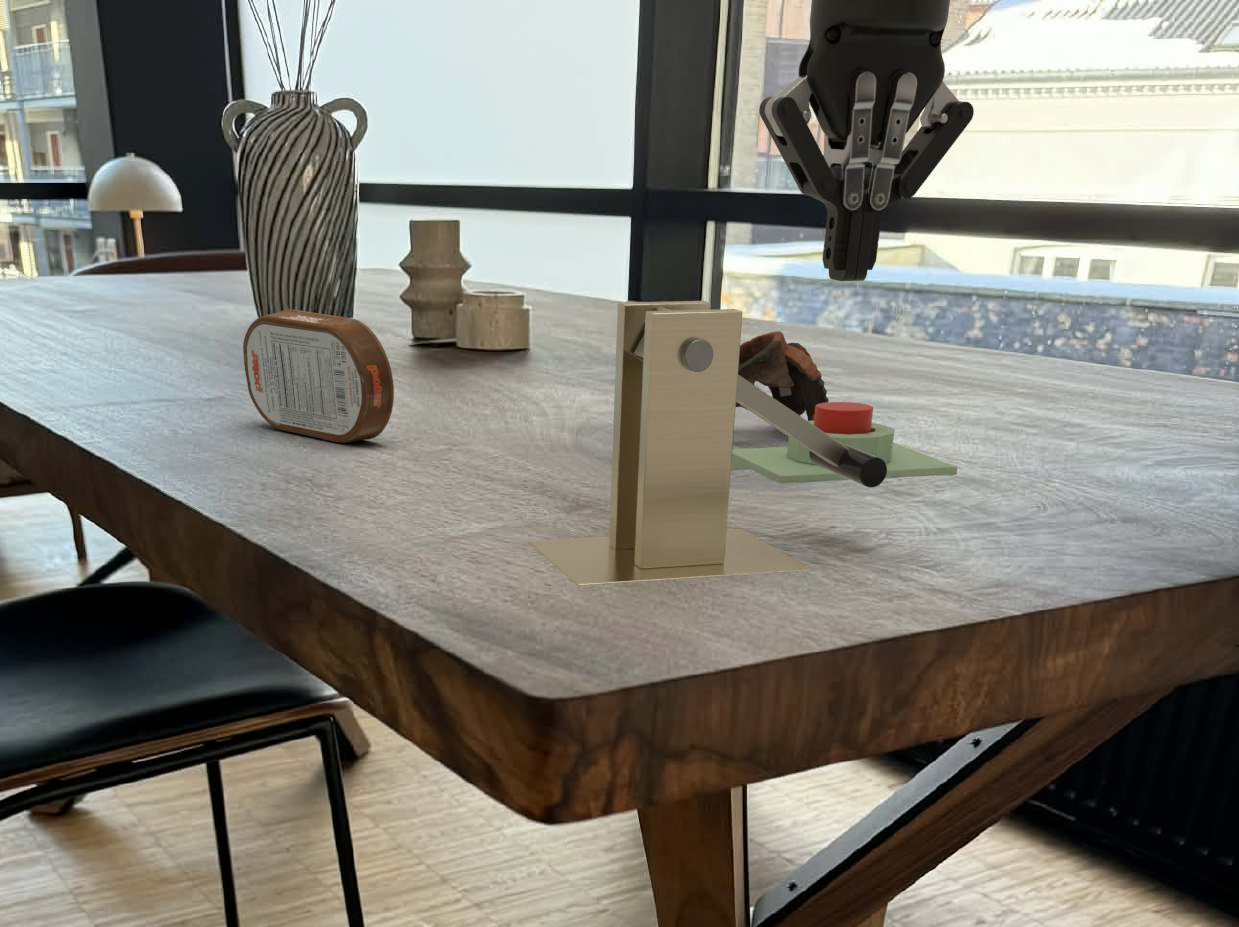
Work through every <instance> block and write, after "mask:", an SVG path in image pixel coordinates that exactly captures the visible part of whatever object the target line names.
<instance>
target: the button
mask: <svg viewBox="0 0 1239 927" xmlns="http://www.w3.org/2000/svg"><path fill="white" fill-rule="evenodd" d="M873 414H874V407H873V406H872V405H870V404H867V403H862V402H861V403H860V402H852V401H829V402H826V403H820V404H817V405H816V406H815V416H814V426H816V427H817V428H819V429H820V430H822V431H823V432H825V433H832V434H866V433H870V432H871V424H872V423H873Z"/></svg>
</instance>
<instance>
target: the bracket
mask: <svg viewBox="0 0 1239 927" xmlns="http://www.w3.org/2000/svg"><path fill="white" fill-rule="evenodd" d="M711 306H712V302H709V301H706V300H681V301H680V300H679V301H677V300H675V301H634V302H633V301H632V302H618V303H617V314H616V315H617V316H616V317H617V319H616V320H617V321H616V344H615V345H616V348H615V352H616V353H615V371H614V398H613V399H614V401H613V402H614V403H613V426H612V427H613V428H612V430H613V431H612V432H613V433H612V457H611V459H612V460H611V482H610V483H611V485H610V486H611V488H610V512H609V536H593V537H578V538H576V537H573V538H557V539H539V540H528V541H527V543H528V544H529V545H531V547H533V549H535V550H536V551H537V552H538V553H540V554H541V555H542V556H543V557H544V558H545V559H546V560H547V561H549V563H551V564H552V565H553V566H555V567H556V569H558V570H559V571H560V572H561V573H563V575H565V576H566V577H567V578H568V579H569V580H571V581H572V582H573V583H574V584H575V585H576V586H577V587H581V586H596V585H612V584H625V583H626V584H627V583H643V582H657V581H671V580H673V581H674V580H685V579H686V580H687V579H688V580H689V579H703V578H717V577H718V578H719V577H733V576H735V577H736V576H746V575H747V576H749V575H761V574H762V575H763V574H764V575H765V574H779V573H793V572H809V571H811V572H812V571H813V569H812V568H811V567H809V566H807V565H806V564H803V563H802V562H800V561H798V560H797V559H795V558H793V557H791V556H790V555H788V554H787V553H785V552H783V551H781V550H780V549H778V548H776V547H774V546H773V545H771V544H769V543H768V542H766V541H765V540H762V539H761V538H758V537H757V536H756V535H753V533H750V532H749V531H747V530H745V529H743V528H729V529H728V516H729V503H730V487H731V476H732V475H731V474H732V470H731V463H732V449H734V435H735V434H734V433H735V420H736V408H737V407H736V395H737V381H738V367H739V354H740V345H741V340H742V339H741V338H742V335H741V334H742V325H743V311H742V310H740V309H735V308H727V309H726V308H721V309H720V308H719V309H718V308H717V309H711ZM659 307H662V308H666V309H669V310H672V311H657V310H658V308H659ZM644 334H645V337H644V360H642V359H640V358H639V357H637V356H636V355H635V354H634V352H635V350H636V348H637V346H638V344H639V343H640V341H641V339H642V337H643V335H644Z"/></svg>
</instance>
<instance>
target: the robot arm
mask: <svg viewBox="0 0 1239 927" xmlns="http://www.w3.org/2000/svg"><path fill="white" fill-rule="evenodd" d="M950 5H951V0H811V3H810V15H809V42H808V45H807V48H806V50H805V52H804V54H803V56H802V58H801V60H800V62H799V66H798V77H797V78H796V79H795V80H794V81H793V82H791V83H790V84H789V85H788V86H787V87H786V88H785V89H783V91H781V92H780V93H779V94H778V95H777V96H767V97H765V98H764V99H763V100H761V103H760V104H759V110H758V112H759V115H760V118H761V120H762V122H763V124H764V126H765V127H766V129H767V131H768V134H769V135H770V137H771V139H772V141H773V143H774V145H775V146H776V148H777V150H778V152H779V153H780V156H781V157H782V159H783V161H784V163H785V165H786V167H787V169H788V170H789V173H790V175H791V176H792V178H793V180H794V181H795V184H796V186H797V188H798V190H799V191H800V193H801V194H802V195H803V196H808V197H811V198H813V199H815V200H816V201H817V200H818V201H819V202H821V203H822V204H823V205H824V206H825V208H826V223H825V231H824V242H823V250H822V258H821V260H822V264H823V268H824V269H826V270H828V277H829V279H830V280H833V281H837V282H838V281H839V282H864V281H865V280H866V278H867V276H868V271H873V270H874V266H875V264H876V262H877V257H878V248H879V240H880V233H881V227H882V226H881V225H882V217H883V213H884V211H885V209H886V208H887V207H888V206H889V205H890V204H892V203H895V202H896V201H897V202H898V201H899V200H902V199H906V200H907V199H911V198H912V197H914V196H915V195H916V194H917V192H918V191H919V190H920V188H921V187H922V186H923V185H924V183H925V182H926V180H927V179H928V178H929V176H930V175H931V174H932V173H933V171H934V170H935V169H936V168H937V166H938V165H939V163H940V162H941V161H942V160H943V158H944V157H945V156H946V154H947V153H948V152H949V151H950V149H951V148H952V146H953V145H954V144H955V142H956V141H957V140H958V139H959V138H960V136H961V135H962V134H963V131H965V130H966V128H967V127H968V125H969V124H970V123H971V122H972V120H973V118H974V114H975V112H974V111H975V110H974V106H973V104H972V103H970V102H969V101H961V100H959V99H958V98H957V97H956V95H955V94H954V93H953V92H952V91H951V89H950V88H949V87H948V86H947V85H946V83H945V82H944V79H945V73H946V66H945V61H944V57H943V54H942V39H943V35H944V32H945V29H946V27H947V23H948V21H949V20H948V19H949V11H950ZM810 107H811V108H810ZM811 109H812V111H813V113H814V116H815V118H816V120H817V123H818V124H819V126H820V129H821V130H822V132H823V134H824V138H823V152H822V150H821V148H820V146H819V144H818V142H817V141H816V138H815V136H814V135H813V132H812V130H811V129H810V127H809V125H808V124H809V123H810V121H811V117H812V112H811ZM918 118H919V121H920V125H921V126H920V127H919V129H918V130H917V131H916V133H915V134H914V135H913V137H912V138H911V139H910V141H909V142H908V143H907V145H906V146H905V147H904V144H905V141H906V140H905V139H906V135H907V133H908V132H909V131H910V129H911V128H912V127H913V125H914V124H915V122H916V121H917V120H918Z"/></svg>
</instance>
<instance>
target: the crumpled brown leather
mask: <svg viewBox="0 0 1239 927" xmlns="http://www.w3.org/2000/svg"><path fill="white" fill-rule="evenodd" d="M738 375H740V376H741V377H743V378H744V379H746V380H747V381H749V382H750V383H752V384H753V385H755V382H758V383H760V385H762V386H764V387H767V388H768V389H769V391H770V393H771V397H773V398H774V399H776V400H777V401H778V402H780V403H781V404H783V405H784V406H786V407H787V408H789V409H790V410H792V411H793V412H795V413H796V414H798V415H799V416H801V417H802V415H803V414H804V413H805V414H806V417H807V421H814V416H815V406H816V405H817V404H820V403H826V402H830V401H829V400H830V399H829V398H828V397H827V393H828V391H827V389H826V387H825V381H824V380H823V379H822V373H821V371H820V370H819V369H818V366H817V364H816V363H815V362H814V361H813V359H812V357H811V354H810V353H809V352H808V350H807V349H806V347H804V346H803V345H801V343H799V342H788V343H787V341H786V338H785V335H784V333H783V332H782V331H780V330H779V331H778V330H777V331H771V332H768V333H764V334H761V335H757V336H755V337H752V338H751V339H750V340H747V341H744V342H743V343H741V344H740V354H739V367H738ZM736 408H743V409H745V410H746V411H749V410H748V409H746V408H745V407H743V406H742V405H740V404H739V403H737V402H736Z"/></svg>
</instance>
